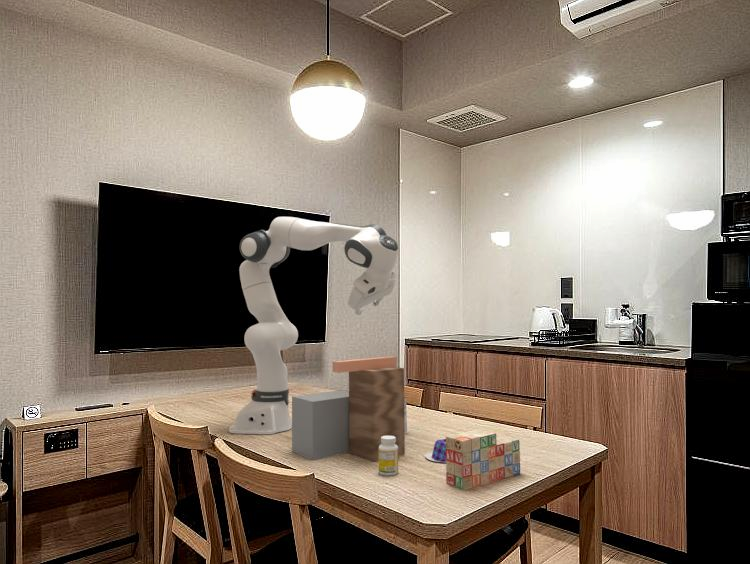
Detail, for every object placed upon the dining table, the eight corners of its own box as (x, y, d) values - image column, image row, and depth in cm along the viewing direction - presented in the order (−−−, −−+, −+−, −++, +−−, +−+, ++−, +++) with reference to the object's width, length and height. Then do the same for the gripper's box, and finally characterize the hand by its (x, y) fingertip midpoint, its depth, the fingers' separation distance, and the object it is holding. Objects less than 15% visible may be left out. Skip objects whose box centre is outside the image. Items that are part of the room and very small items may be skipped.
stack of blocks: (502, 468, 156) (502, 424, 157) (520, 474, 151) (520, 428, 152) (445, 484, 144) (445, 435, 144) (463, 490, 139) (462, 440, 139)
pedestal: (312, 459, 166) (312, 401, 167) (292, 451, 176) (291, 396, 176) (361, 449, 177) (361, 394, 178) (339, 442, 187) (339, 390, 187)
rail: (338, 372, 162) (338, 362, 163) (332, 371, 165) (332, 361, 165) (396, 366, 176) (396, 356, 176) (390, 365, 178) (390, 356, 178)
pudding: (472, 462, 163) (472, 444, 163) (434, 466, 160) (433, 447, 160) (455, 452, 175) (455, 435, 175) (419, 455, 171) (419, 437, 172)
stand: (373, 461, 164) (372, 371, 164) (349, 453, 173) (348, 367, 174) (404, 454, 171) (403, 368, 172) (379, 446, 181) (379, 364, 181)
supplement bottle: (390, 477, 149) (389, 440, 150) (374, 473, 153) (374, 437, 153) (402, 472, 154) (402, 436, 154) (387, 468, 157) (386, 433, 157)
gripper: (389, 265, 204) (379, 295, 212) (350, 282, 190) (341, 313, 198) (402, 275, 201) (391, 304, 209) (363, 293, 187) (353, 324, 195)
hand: (366, 309), depth 203 cm, fingers open, 8 cm apart
